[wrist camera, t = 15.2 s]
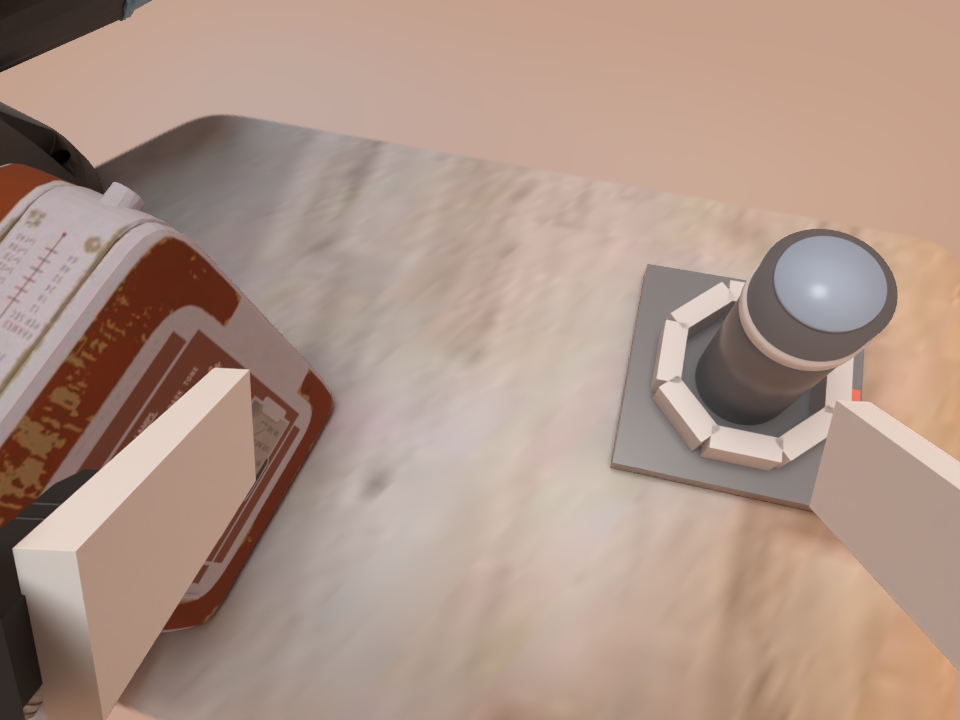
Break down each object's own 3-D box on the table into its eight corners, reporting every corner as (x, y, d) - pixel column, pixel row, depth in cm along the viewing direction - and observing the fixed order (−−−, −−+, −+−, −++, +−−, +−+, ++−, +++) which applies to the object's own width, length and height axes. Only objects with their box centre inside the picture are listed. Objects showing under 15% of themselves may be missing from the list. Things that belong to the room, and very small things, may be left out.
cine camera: (31, 656, 34) (-572, 710, 16) (234, 343, 40) (-33, 110, 21) (168, 747, 32) (-339, 935, 14) (362, 404, 38) (191, 203, 19)
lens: (688, 416, 35) (753, 331, 24) (698, 328, 36) (764, 213, 26) (793, 436, 34) (908, 358, 23) (799, 345, 36) (909, 234, 25)
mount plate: (610, 467, 35) (617, 453, 32) (644, 273, 39) (653, 246, 36) (845, 518, 33) (875, 509, 30) (856, 309, 37) (884, 283, 34)
